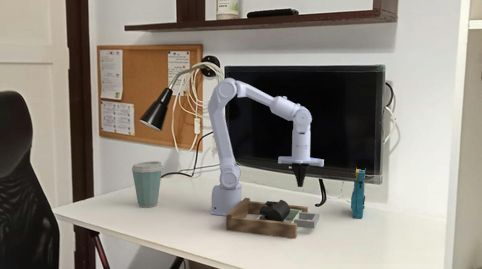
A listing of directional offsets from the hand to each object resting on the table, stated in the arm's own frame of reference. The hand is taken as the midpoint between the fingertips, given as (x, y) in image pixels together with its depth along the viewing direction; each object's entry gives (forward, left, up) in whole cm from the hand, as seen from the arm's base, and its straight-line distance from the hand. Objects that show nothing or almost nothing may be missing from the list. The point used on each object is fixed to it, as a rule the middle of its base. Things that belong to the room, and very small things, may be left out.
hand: (300, 186), depth 165 cm
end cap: (-5, -12, -10) cm, 17 cm away
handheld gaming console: (+18, +6, -10) cm, 21 cm away
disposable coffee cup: (-52, -7, -10) cm, 53 cm away
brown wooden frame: (-8, -13, -9) cm, 18 cm away
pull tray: (-1, -13, -9) cm, 16 cm away
